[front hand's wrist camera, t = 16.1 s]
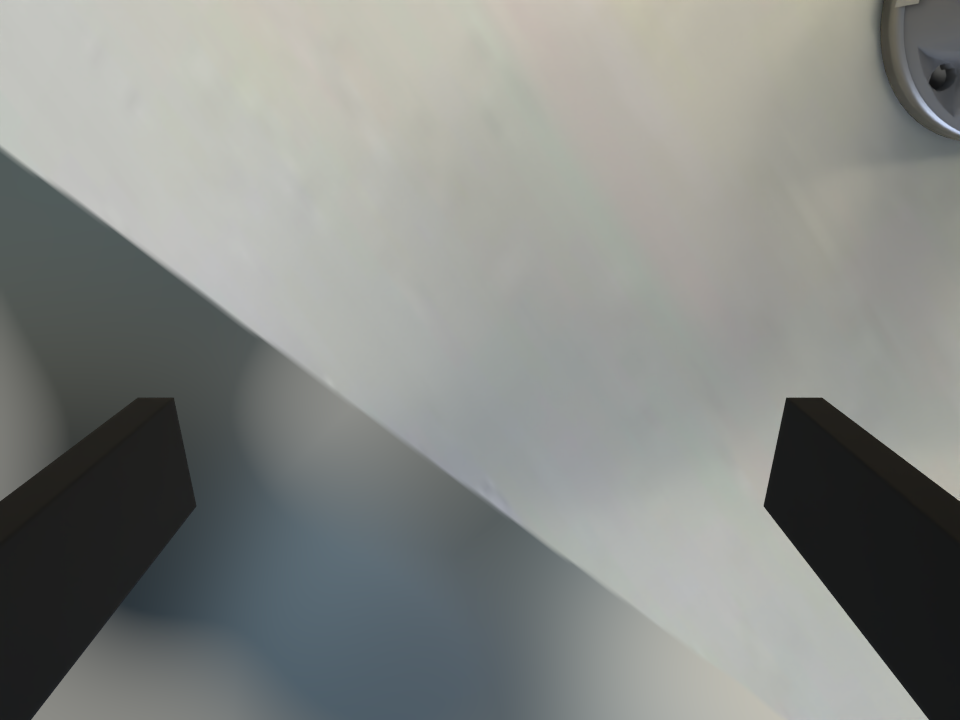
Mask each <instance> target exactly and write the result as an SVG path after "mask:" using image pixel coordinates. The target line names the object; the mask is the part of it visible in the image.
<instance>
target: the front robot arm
mask: <svg viewBox="0 0 960 720" xmlns="http://www.w3.org/2000/svg"><path fill="white" fill-rule="evenodd" d="M881 48H882V57H883V62H884V66H885V71H886V74H887V77H888V80H889V83H890V85H891V87H892V89H893V91H894V93H895V95H896V97H897V98H898V100H899V101H900V103H901V105H902V106H903V107H904V108H905V109H906V111H907V112H908V113H909V114H910V115H911V116H912V117H913V118H914V119H915V120H916V121H917V122H919V123H920V124H922V125H923V126H924V127H926V128H927V129H929V130H931V131H933V132H935V133H937V134H939V135H942V136H944V137H947V138H951V139H954V140H958V141H960V0H884V3H883V10H882V18H881ZM195 507H196V502H195V497H194V493H193V488H192V483H191V478H190V473H189V469H188V464H187V459H186V454H185V450H184V445H183V440H182V435H181V430H180V426H179V421H178V416H177V411H176V406H175V402H174V398H137V399H136V400H134V401H133V402H132V403H130V404H129V405H128V406H126V407H125V408H124V409H122V410H121V411H120V412H118V413H117V414H116V415H114V416H113V417H112V418H110V419H109V420H108V421H106V422H105V423H104V424H102V425H101V426H100V427H98V428H97V429H96V430H94V431H93V432H92V433H91V434H89V435H88V436H86V437H85V438H84V439H83V440H81V441H80V442H78V443H77V444H76V445H75V446H73V447H72V448H71V449H69V450H68V451H67V452H65V453H64V454H63V455H61V456H60V457H59V458H57V459H56V460H55V461H53V462H52V463H51V464H49V465H48V466H47V467H45V468H44V469H43V470H41V471H40V472H39V473H37V474H36V475H35V476H33V477H32V478H31V479H29V480H28V481H27V482H25V483H24V484H23V485H21V486H20V487H19V488H17V489H16V490H15V491H13V492H12V493H11V494H9V495H8V496H7V497H5V498H4V499H3V500H1V501H0V720H31V719H32V718H33V716H34V715H35V714H36V713H37V711H38V710H39V709H40V707H41V706H42V705H43V703H44V702H45V701H46V700H47V698H48V697H49V696H50V695H51V693H52V692H53V691H54V689H55V688H56V687H57V686H58V684H59V683H60V682H61V680H62V679H63V678H64V676H65V675H66V674H67V673H68V671H69V670H70V669H71V667H72V666H73V665H74V664H75V662H76V661H77V660H78V658H79V657H80V656H81V655H82V653H83V652H84V651H85V649H86V648H87V647H88V645H89V644H90V643H91V642H92V640H93V639H94V638H95V636H96V635H97V634H98V633H99V631H100V630H101V629H102V627H103V626H104V625H105V624H106V622H107V621H108V620H109V618H110V617H111V616H112V614H113V613H114V612H115V611H116V609H117V608H118V607H119V605H120V604H121V603H122V602H123V600H124V599H125V598H126V596H127V595H128V594H129V593H130V591H131V590H132V589H133V587H134V586H135V585H136V584H137V582H138V581H139V580H140V578H141V577H142V576H143V574H144V573H145V572H146V571H147V569H148V568H149V567H150V565H151V564H152V563H153V562H154V560H155V559H156V558H157V556H158V555H159V554H160V553H161V551H162V550H163V549H164V547H165V546H166V545H167V543H168V542H169V541H170V540H171V538H172V537H173V536H174V534H175V533H176V532H177V531H178V529H179V528H180V527H181V525H182V524H183V523H184V522H185V520H186V519H187V518H188V516H189V515H190V514H191V512H192V511H193V510H194V509H195ZM764 507H765V509H766V510H767V511H768V512H769V514H770V515H771V516H772V518H773V519H774V520H775V522H776V523H777V524H778V525H779V527H780V528H781V529H782V531H783V532H784V533H785V534H786V536H787V537H788V538H789V540H790V541H791V542H792V543H793V545H794V546H795V547H796V549H797V550H798V551H799V553H800V554H801V555H802V556H803V558H804V559H805V560H806V562H807V563H808V564H809V565H810V567H811V568H812V569H813V571H814V572H815V573H816V574H817V576H818V577H819V578H820V580H821V581H822V582H823V584H824V585H825V586H826V587H827V589H828V590H829V591H830V593H831V594H832V595H833V596H834V598H835V599H836V600H837V602H838V603H839V604H840V605H841V607H842V608H843V609H844V611H845V612H846V613H847V614H848V616H849V617H850V618H851V620H852V621H853V622H854V624H855V625H856V626H857V627H858V629H859V630H860V631H861V633H862V634H863V635H864V636H865V638H866V639H867V640H868V642H869V643H870V644H871V645H872V647H873V648H874V649H875V651H876V652H877V653H878V655H879V656H880V657H881V658H882V660H883V661H884V662H885V664H886V665H887V666H888V667H889V669H890V670H891V671H892V673H893V674H894V675H895V676H896V678H897V679H898V680H899V682H900V683H901V684H902V686H903V687H904V688H905V689H906V691H907V692H908V693H909V695H910V696H911V697H912V698H913V700H914V701H915V702H916V704H917V705H918V706H919V707H920V709H921V710H922V711H923V713H924V714H925V715H926V716H927V718H928V719H929V720H960V501H958V500H957V499H956V498H955V497H953V496H952V495H951V494H949V493H948V492H947V491H945V490H944V489H943V488H941V487H940V486H939V485H937V484H936V483H935V482H933V481H932V480H931V479H929V478H928V477H927V476H925V475H924V474H923V473H921V472H920V471H919V470H917V469H916V468H915V467H913V466H912V465H911V464H909V463H908V462H907V461H905V460H904V459H903V458H901V457H900V456H899V455H897V454H896V453H895V452H893V451H892V450H891V449H889V448H888V447H887V446H885V445H884V444H883V443H882V442H880V441H879V440H878V439H876V438H875V437H874V436H872V435H871V434H870V433H868V432H867V431H866V430H864V429H863V428H862V427H860V426H859V425H858V424H856V423H855V422H854V421H852V420H851V419H850V418H848V417H847V416H846V415H844V414H843V413H842V412H840V411H839V410H838V409H836V408H835V407H834V406H832V405H831V404H830V403H828V402H827V401H826V400H824V399H823V398H786V402H785V406H784V411H783V416H782V421H781V426H780V430H779V435H778V440H777V445H776V450H775V454H774V459H773V464H772V469H771V473H770V478H769V483H768V488H767V493H766V497H765V502H764Z"/></svg>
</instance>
